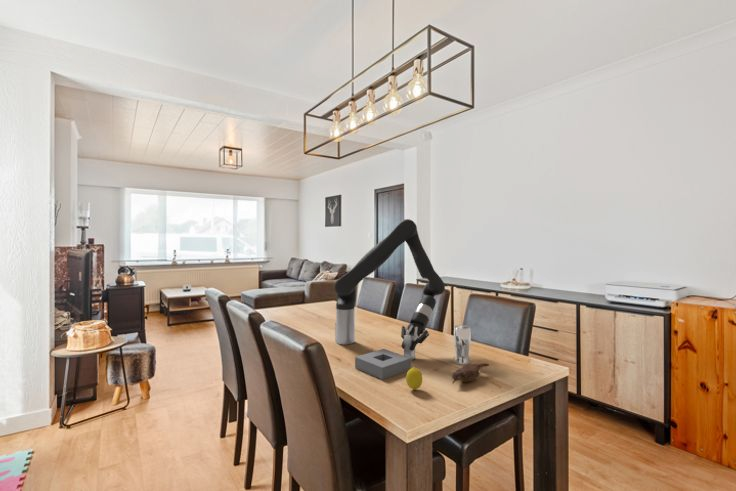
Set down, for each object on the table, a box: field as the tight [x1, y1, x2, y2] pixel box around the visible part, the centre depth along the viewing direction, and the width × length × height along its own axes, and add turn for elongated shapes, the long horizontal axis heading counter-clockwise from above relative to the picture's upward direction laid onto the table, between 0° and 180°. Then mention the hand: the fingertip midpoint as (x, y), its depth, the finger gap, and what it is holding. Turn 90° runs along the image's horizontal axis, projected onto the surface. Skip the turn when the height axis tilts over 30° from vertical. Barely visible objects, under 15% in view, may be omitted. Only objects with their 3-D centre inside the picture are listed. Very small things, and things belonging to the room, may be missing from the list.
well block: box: [354, 348, 412, 381], centre depth 144 cm, size 16×16×4 cm
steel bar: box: [403, 334, 416, 361], centre depth 156 cm, size 4×4×10 cm
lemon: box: [405, 366, 423, 391], centre depth 124 cm, size 6×6×8 cm
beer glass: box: [453, 324, 472, 366], centre depth 151 cm, size 7×7×15 cm
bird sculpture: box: [452, 362, 490, 384], centre depth 133 cm, size 7×25×5 cm, turn 134°
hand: (407, 349), depth 155 cm, fingers closed on steel bar, 3 cm apart
